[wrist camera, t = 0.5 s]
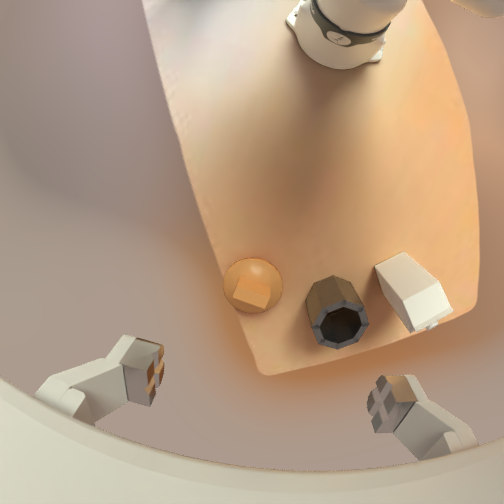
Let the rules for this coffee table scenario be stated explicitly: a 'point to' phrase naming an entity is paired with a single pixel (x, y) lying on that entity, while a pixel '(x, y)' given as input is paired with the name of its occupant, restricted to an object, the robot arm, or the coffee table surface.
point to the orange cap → (252, 285)
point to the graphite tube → (341, 323)
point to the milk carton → (412, 292)
